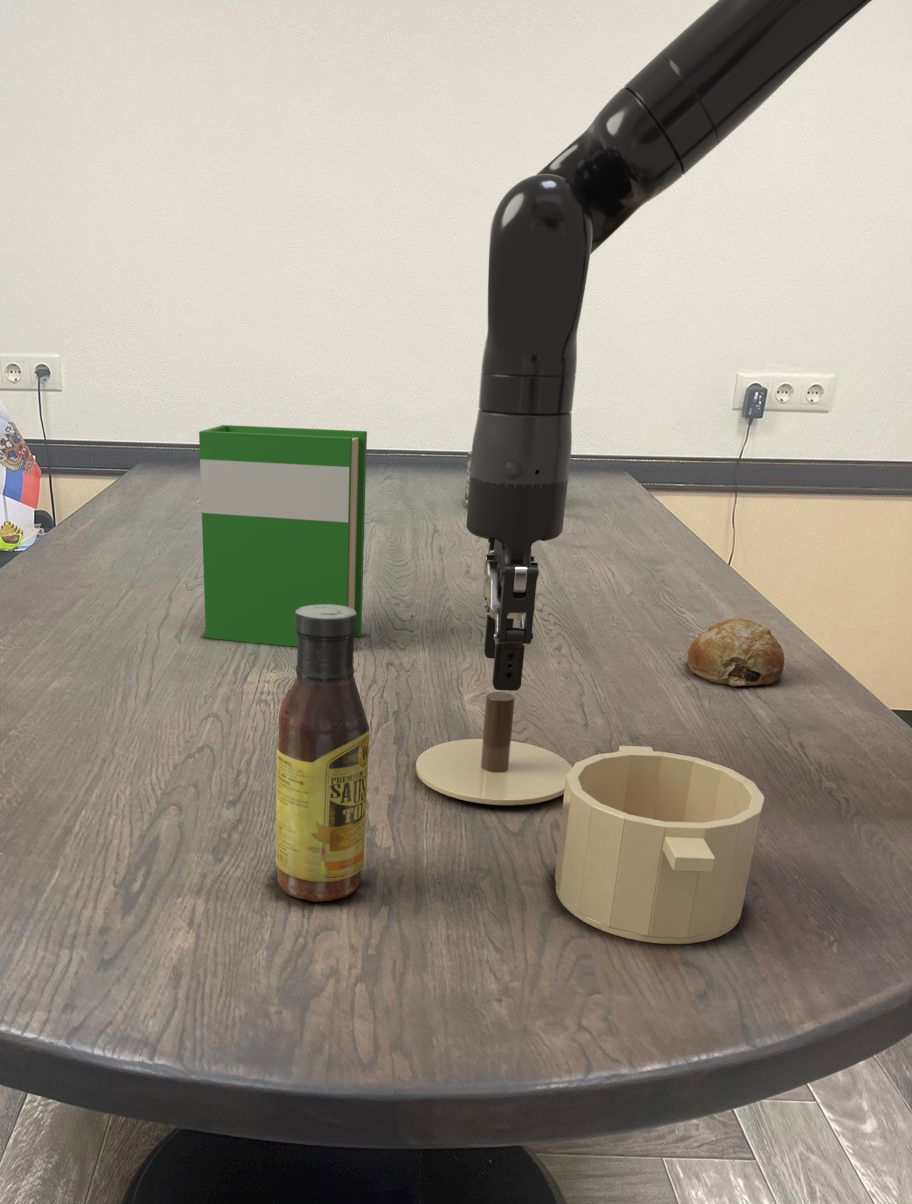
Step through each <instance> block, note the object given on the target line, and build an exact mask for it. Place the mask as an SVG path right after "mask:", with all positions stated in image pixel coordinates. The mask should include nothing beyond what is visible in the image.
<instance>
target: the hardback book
mask: <svg viewBox="0 0 912 1204" xmlns="http://www.w3.org/2000/svg"><path fill="white" fill-rule="evenodd" d="M198 439H199V441H198V442H199V443H198V444H199V469H200V470H199V471H200V473H199V475H200V494H201V495H200V498H201V499H200V500H201V528H202V529H201V530H202V531H201V532H202V535H201V536H202V560H203V561H202V564H203V590H204V591H203V593H204V596H203V597H204V621H205V622H204V623H205V638H206V639H213V640H214V639H215V640H225V641H233V642H234V641H235V642H243V643H245V642H246V643H254V644H265V645H274V646H275V645H276V646H285V647H286V646H287V647H296V648H297V644H298V642H297V639H298V637H297V633H296V630H295V611H296V610H297V609H298V608H300V607H303V606H308V605H321V604H333V605H341V606H346V607H349V608H351V609H353V610H355V611H356V613H357V632H356V634H355V636H354V637H356V638H357V637H359V638H360V637H361V636H362V625H363V624H362V623H363V593H364V592H363V590H364V583H363V582H364V554H365V552H364V551H365V517H366V483H367V481H366V479H367V443H368V431H367V430H345V429H324V428H301V427H279V426H278V427H277V426H253V425H235V424H234V425H233V424H221V425H218V426H214V427H211V428H207V429H204V430H200V431H199V432H198Z"/></svg>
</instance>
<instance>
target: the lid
mask: <svg viewBox="0 0 912 1204" xmlns="http://www.w3.org/2000/svg"><path fill="white" fill-rule="evenodd" d="M515 699H516V696H515V695H514V694H512V693H509V692H505V691H492V692H488V693H487V694H486V695H485V703H484V704H485V705H484V720H483V731H482V738H467V739H466V738H465V739H458V740H451V741H447V742H443V743H439V744H436V745H433V746H432V747H429V748H427V749H425V750H424V751H423V752H422V753H420V755H419V756H418V757H417V759H416V762H415V773H416V775H417V777H418V779H419V780H420V781H421V782H422V783H423V784H424V785H426V786H427V787H429V788H430V789H431V790H434V791H436V792H438V793H440V794H442V795H444V796H448V797H451V798H454V799H457V800H460V801H461V800H462V801H466V802H470V803H476V804H484V805H494V806H522V805H523V806H524V805H531V804H537V803H543V802H547V801H550V800H553V799H556V798H558V797H560V796H562V795H564V791H565V782H566V776H567V774H568V773H569V772H570V770H571V769H572V767H573V766H572V765H571V764H570V762H568V761H567V760H566V759H565V758H564V757H562V756H560V755H559V754H557V753H555V752H553V751H551V750H548V749H546V748H544V747H540V746H537V745H533V744H529V743H525V742H520V741H515V740H512V734H513V723H514V714H515V713H514V711H515V701H516V700H515Z"/></svg>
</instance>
